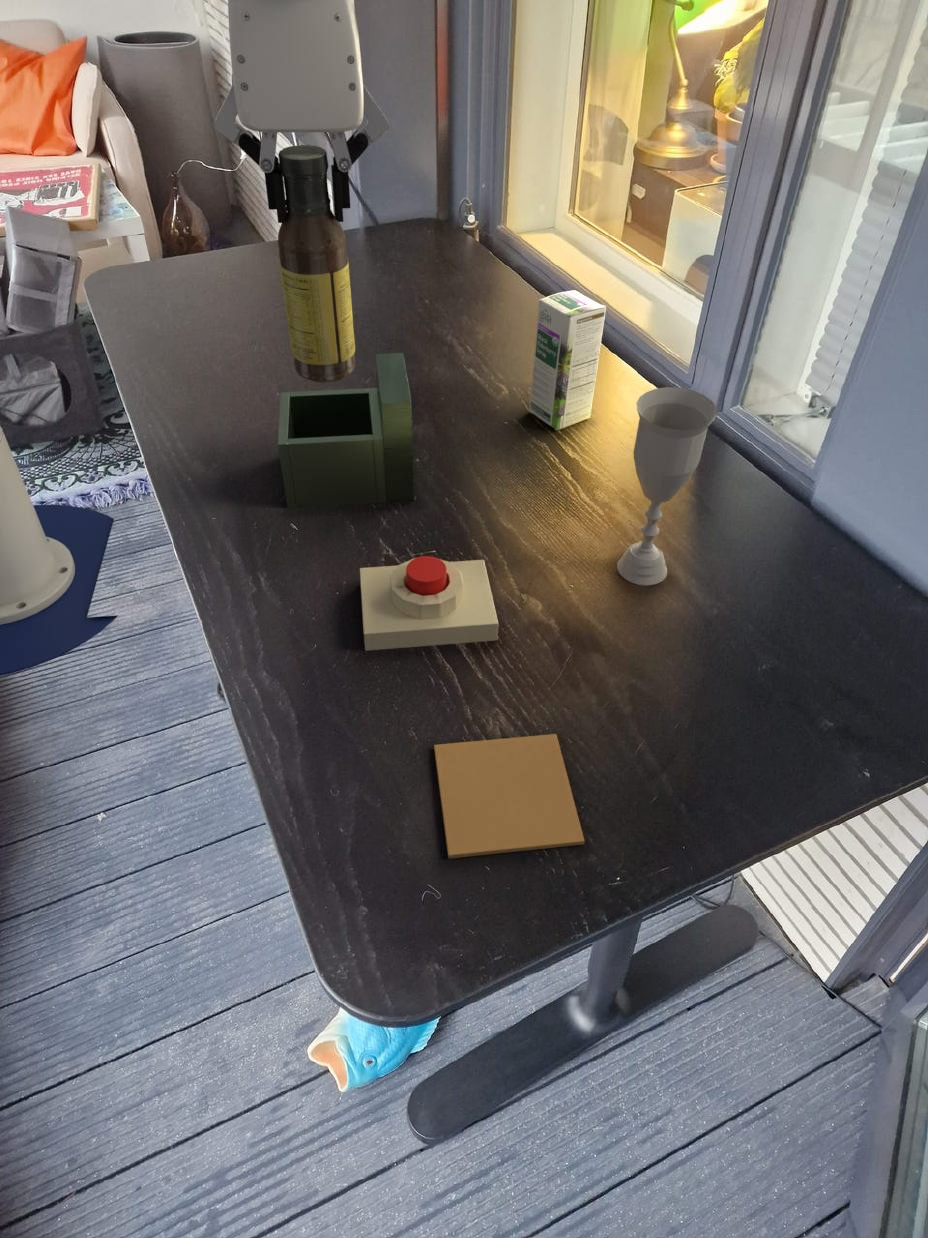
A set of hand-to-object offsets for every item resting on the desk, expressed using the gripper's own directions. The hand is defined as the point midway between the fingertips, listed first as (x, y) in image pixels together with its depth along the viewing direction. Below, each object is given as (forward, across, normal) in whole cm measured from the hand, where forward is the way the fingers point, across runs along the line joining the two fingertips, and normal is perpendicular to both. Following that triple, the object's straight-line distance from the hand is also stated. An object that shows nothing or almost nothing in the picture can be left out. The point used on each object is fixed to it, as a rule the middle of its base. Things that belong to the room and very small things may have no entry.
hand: (310, 214), depth 75 cm
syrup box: (+28, -28, -12) cm, 42 cm away
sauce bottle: (+15, 0, 0) cm, 15 cm away
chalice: (+29, -30, +18) cm, 45 cm away
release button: (+25, -8, +22) cm, 34 cm away
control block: (+29, -8, +22) cm, 37 cm away
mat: (+29, -12, +43) cm, 53 cm away
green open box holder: (+29, -2, -2) cm, 29 cm away
